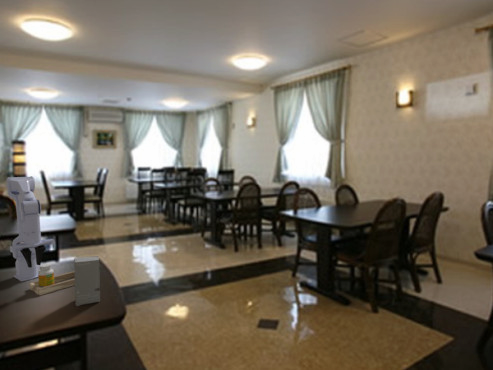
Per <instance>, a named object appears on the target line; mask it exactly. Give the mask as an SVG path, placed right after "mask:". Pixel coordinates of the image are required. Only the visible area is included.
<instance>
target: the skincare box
mask: <svg viewBox="0 0 493 370" xmlns="http://www.w3.org/2000/svg"><path fill="white" fill-rule="evenodd" d="M73 263H74V265H73V266H74V267H73V269H74V270H73V271H74V273H75V277H74V278H75V285H74V298H75V300H74V301H75V305H76V307H80V306H83V305H88V304H94V303H99V302H100V301H101V290H100V289H101V285H100V282H101V281H100V258H99V256H98V255H94V256H83V257H75V258H74V261H73Z"/></svg>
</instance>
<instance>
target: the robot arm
mask: <svg viewBox="0 0 493 370" xmlns="http://www.w3.org/2000/svg"><path fill="white" fill-rule="evenodd" d="M35 183H36V182H35V178H34V177H33V176H17V177H16V176H15V177H9V176H8V177H7V178H6V189H7V195H8V197H9V198H11V199H13V200H14V203H15V209H16V218H17V219H16V220H17V227H18V236H17V237H15V238H14V239H13V240H12V242H11V246H9V251H10V253H12V257H13V258H14V259H15V260H16V261H15V264H14V265H15V275H13V277H14V278H15V279H17V280H18V281H20V282H25V281H29V280H33V279H37V278H38V272H39V270H38V266H39V267H40V265H42V263H41V262H42V259H43V257H44V253H45V252H46V250H47V246H49V245H52V246H53V245H55V240H54V239H53V238H46V239H42V233H41V219H40V215H41V213H42V206H41V202H40V200H39V199H38V198H36V195H35V188H36V184H35Z"/></svg>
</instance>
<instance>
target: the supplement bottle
mask: <svg viewBox="0 0 493 370" xmlns="http://www.w3.org/2000/svg"><path fill="white" fill-rule="evenodd" d="M54 272H55V271H54V268H52V263H43V264H42V263H41V265H39V270H38V277H37V278H38V281H39V287H40V288H43V287H46V286H50V285H53V284H56V283H54V276H55V273H54Z"/></svg>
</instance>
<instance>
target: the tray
mask: <svg viewBox="0 0 493 370" xmlns="http://www.w3.org/2000/svg"><path fill="white" fill-rule="evenodd" d="M54 283H55V284H53V285H50V286H46V287H43V288H40V287H39V280H36V281H33V282H29V283H28V284H29V290H31V291H32V292H33V293H34V294H36V295H38V296H42V295H46V294H50V293H52V292H56V291H60V290H63V289H66V288H69V287H73V286H75V273H74V270H73V271H70V272H66V273H62V274H59V275H58V274H57V275H54Z"/></svg>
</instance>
